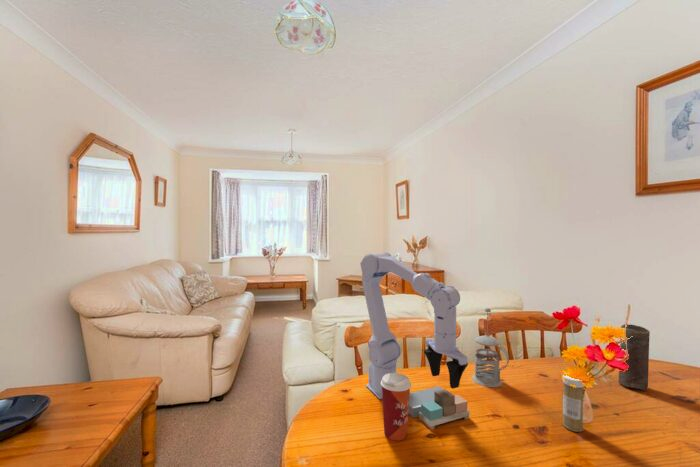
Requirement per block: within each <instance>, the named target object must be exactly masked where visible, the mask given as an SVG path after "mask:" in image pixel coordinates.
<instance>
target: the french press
mask: <svg viewBox="0 0 700 467" xmlns="http://www.w3.org/2000/svg"><path fill="white" fill-rule="evenodd" d="M484 312H485V313H486V315H487V317H486V318H487V320H486V326H487V327H486V335H480V336H477V337H475V338H474V341H475V343H477V344H478V345H482V346H486V348H478V349H476V351H475V352H476V353H475V355H474V356H475V357H474V359H475V360H474V374H473V375H472V376H471V380H472V381H473V382H474V383H476V384H478V385H480V386H483V387H488V388H498V387H499V388H500V387H501V386H503V381H502V379H501V371H502V370H505V369H506V368H507V366H508V364H509V362H510V355H509V353H508V351H507V349H505V348H504V347H502V346H499V345H500V344H501V341H500V340H498V339H497V338H495V337H494V336H491V335H489V334H488V333H489V327H488V326H489V313H491V309H490V308H487V307H486V308H485V309H484ZM497 346H499V347H498V351H496V350H494V349H489V347H497ZM501 351H503V353H504V355H505V356H506V359H507V360H506V365H504V366H502V367H500V357H499V353H498V352H501ZM486 358H487V359H486ZM495 359H496V360H495Z"/></svg>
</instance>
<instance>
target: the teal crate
mask: <svg viewBox="0 0 700 467" xmlns="http://www.w3.org/2000/svg"><path fill="white" fill-rule="evenodd" d="M421 413H422V414H423V415H424V416H425V417H426V418H427V419H429V420H430V421H432V420H435V419H439V418H442V417H443V408H442V407H441V406H439V405H438V404H437V403H435V402H434V401H430V402H426V403H422V404H421Z"/></svg>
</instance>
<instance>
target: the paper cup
mask: <svg viewBox="0 0 700 467" xmlns="http://www.w3.org/2000/svg"><path fill="white" fill-rule="evenodd" d="M381 386H382V398H383V399H382V415H383V418H382V419H383V432H384V435H385V437H386V438H387V439H389V440H391V441H396V442H398V441H403V440H405V439H406V438H407V434H408V420H409V413H408V409H409V393H411V392H410V391H411V388H412V383H411V381H410V378H409V377H408V376H407V375H405V374H403V373H398V372H396V373H389V374H386V375H384V376H383V378H382V380H381Z"/></svg>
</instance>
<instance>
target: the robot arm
mask: <svg viewBox="0 0 700 467" xmlns="http://www.w3.org/2000/svg"><path fill="white" fill-rule="evenodd" d="M359 265H360V268H361V273H362V274H361V283H362V288H363V293H364V297H365V304H366V308H367V314H368V316H369V317H368V318H369V321H370V328H371V332H372V335H371V337H370V339H369V340H368V343H367V344H368V359H369V360H370V363H369V365H368V383H367V384H365V386H366V387H367V388H368V389H369V391H371V392H372V393H373V394H374V395H375V396H376V397H377V398H378V400H383V398H382V386H381V380H382V378H383V376H384V375H386V374H389V373H397V363H398V359H399V358H400V356H401V353H402V349H401V346H400V343H399V342H398V340H397V337H396V335H395V334H394V333H393V332H391V330H390V328H389V322H388V317H387V313H386V308H385V305H384V304H385V303H384V300H383V295H382V290H381V285H380V283H381V282H382V279H383V278H384V277H385V276H386V275H387V274H389V273H393V274H394V275H396V276H397V277H400V278H401V279H403V281H404V280H405V281H406V282H408V283H410V284H411V288H412V290H413V291H415V292H416V293H418V294H419V295H421V296H422V297H424V298H425V299H427V300H428V301H430V305H431V306H432V307H433V313H434V321H433V322H434V329H433V330H434V331H433V332H434V333H433V335H434V336H433V338H434V339H432V338H430V339H425V347H426V349H424V350H423V352H424V354H425V357H426V358H427V362H428V364H429V369H430V374H431V376H432V377H437V376H440V374H441V363H442V362H441V361H442V357H443V356H446V357H448V358H450V359H451V360H448V361H445V364H446V366H447V370H448V374H449V387H450V388H451V389H452V390H453V389H456V388H457V389H458V388H459V386H460V382H461V379H462V375H463V373H464V372H465V371H466V368H467V367H468V365H469V362H468V356H467V355H465V354H463V353H462V352H461V351H460V349H459V346H458V345H457V306H458V305H459V304H460V301H461V295H460V292H459V290H457V289H456V288H455V287H454V286H452V285H447V286H446V285H445V283H444V282H442V281H440V282H439V281H438V280H436V279H434V278H432V277H431V274H430V273H428V272H425V273H424V272H420V273H417V272H415V271H414V270H412V268H410V267H409V266H407V265H406V264H405V263H403V262H401V261H400V260H398V259H397V257H396V256H395V255H392V254H390V253H388V252H383V253H373V254H372V253H368V254H366V255H364V256H363V258H362V260H361V262H360V264H359Z"/></svg>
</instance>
